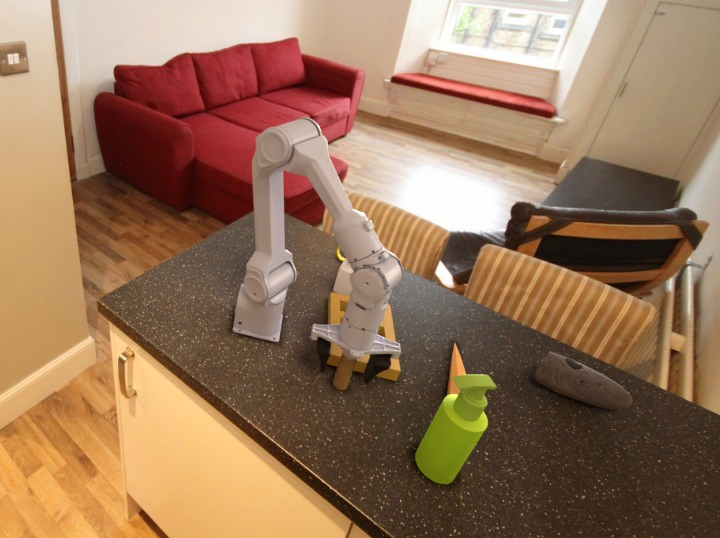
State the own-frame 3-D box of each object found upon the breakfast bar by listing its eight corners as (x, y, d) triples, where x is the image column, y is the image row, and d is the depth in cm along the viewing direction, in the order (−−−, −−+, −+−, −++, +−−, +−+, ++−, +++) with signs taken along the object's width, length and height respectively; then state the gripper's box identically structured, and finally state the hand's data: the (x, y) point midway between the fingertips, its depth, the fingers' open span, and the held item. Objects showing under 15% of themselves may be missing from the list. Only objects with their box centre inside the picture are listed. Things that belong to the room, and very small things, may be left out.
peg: (332, 388, 81) (342, 357, 77) (332, 376, 83) (342, 346, 79) (347, 391, 80) (358, 361, 76) (347, 380, 83) (357, 350, 79)
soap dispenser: (402, 447, 72) (444, 362, 62) (442, 445, 73) (490, 361, 63) (420, 485, 67) (469, 399, 57) (462, 483, 68) (518, 398, 58)
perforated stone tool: (619, 404, 82) (640, 380, 79) (625, 427, 78) (647, 402, 75) (526, 366, 89) (541, 342, 85) (527, 385, 85) (543, 360, 81)
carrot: (463, 428, 76) (483, 415, 74) (440, 410, 77) (459, 397, 75) (456, 354, 93) (472, 342, 91) (437, 341, 94) (453, 328, 92)
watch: (333, 260, 115) (338, 241, 112) (336, 254, 117) (341, 236, 114) (356, 268, 112) (362, 249, 109) (359, 263, 114) (365, 244, 111)
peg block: (327, 364, 85) (330, 354, 84) (328, 301, 101) (330, 291, 100) (396, 381, 83) (400, 371, 82) (386, 314, 99) (390, 304, 97)
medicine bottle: (370, 288, 106) (384, 247, 100) (362, 304, 101) (376, 262, 95) (341, 276, 109) (353, 235, 103) (332, 291, 104) (344, 250, 98)
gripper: (317, 325, 71) (302, 381, 78) (412, 347, 69) (387, 403, 75) (318, 296, 77) (304, 351, 84) (405, 315, 75) (383, 370, 82)
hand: (343, 373), depth 80 cm, fingers open, 7 cm apart
